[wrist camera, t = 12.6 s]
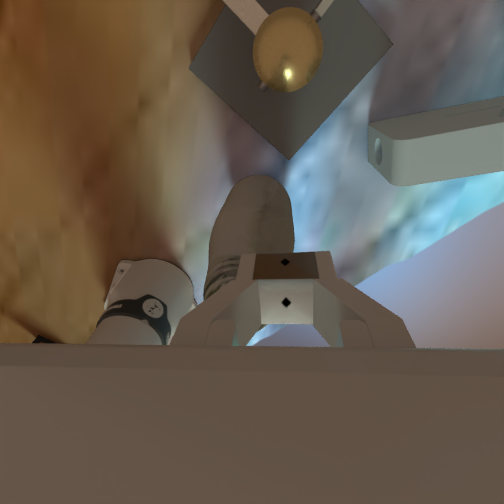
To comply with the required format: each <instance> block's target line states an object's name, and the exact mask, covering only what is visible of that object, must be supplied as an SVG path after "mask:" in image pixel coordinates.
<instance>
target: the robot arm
mask: <svg viewBox="0 0 504 504" xmlns="http://www.w3.org/2000/svg"><path fill="white" fill-rule="evenodd" d="M122 269H123V270H122ZM104 308H105V311H104V312H103V314H102V315H101V317H100V319H99V321H98V323H97V326H96V329H95V331H94V332H93V333H92V335H91V336H90V337H89V339H88V340H87V341H86V343H85V344H39V343H0V504H504V349H444V348H416V346H415V344H414V342H413V340H412V338H411V336H410V334H409V332H408V330H407V328H406V326H405V324H404V322H403V320H402V319H401V318H400V317H398V316H397V315H395V314H394V313H392V312H391V311H389V310H388V309H386V308H385V307H383V306H382V305H381V304H379V303H378V302H376V301H375V300H373V299H371V298H370V297H369V296H367V295H366V294H364V293H363V292H361V291H360V290H358V289H357V288H355V287H354V286H352V285H351V284H349V283H348V282H346V281H345V280H343V279H338V278H337V274H336V271H335V267H334V264H333V260H332V256H331V253H330V251H318V252H299V253H257V254H256V253H243V254H242V255H241V258H240V262H239V267H238V271H237V275H236V280H231V281H230V282H229V283H227V284H226V285H225V286H223V287H222V288H221V289H219V290H218V291H217V292H215V293H214V294H213V295H211V296H210V297H209V298H207V299H206V300H205V301H203V302H202V303H201V304H199V305H198V306H197V304H196V302H195V300H194V291H193V286H192V283H191V281H190V279H189V278H188V276H187V275H186V274H185V273H184V272H183V271H182V270H181V269H179V268H178V267H176V266H175V265H173V264H171V263H169V262H166V261H163V260H158V259H144V260H140V261H131V260H121V261H120V262H119V264H118V266H117V269H116V272H115V275H114V278H113V281H112V284H111V286H110V289H109V292H108V295H107V298H106V301H105V304H104ZM261 324H313V326H314V327H315V328H316V329H317V331H318V332H319V333H320V334H321V335H322V337H323V338H324V339H325V340H326V342H327V343H328V344H329V345H330V346H331V347H278V346H277V347H274V346H246V345H247V343H248V342H249V341H250V340H251V338H252V337H253V336H254V335H255V333H256V332H257V331H258V329H259V328H260V327H261V326H262V325H261ZM171 336H172V337H173V338H172V340H171V342H170V345H167V344H168V341H169V338H170V337H171Z"/></svg>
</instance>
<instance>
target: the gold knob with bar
mask: <svg viewBox="0 0 504 504" xmlns="http://www.w3.org/2000/svg"><path fill="white" fill-rule="evenodd" d="M222 1H223V2H224V3H225V4H226V5H227V6H228V7H229V9H230V10H231V11H232V12H233V13H234V14H235V15H236V16H237V17H238V18H239V19H240V20H241V21H242V22H243V23H244V24H245V25H246V27H247V28H248V29H249V30H250V31H251V32H252V33H253V34H254V35H255V39H254V44H253V62H254V66H255V69H256V72H257V74H258V76H259V77H260V79H261V80H260V81H259V83H258V84H257V86H258V87H259V88H260V89H261V90H262V91H263V92H264V93H265V92H266V90H267V89H268V88H269V87H270V88H271V89H273V90H275V91H279V92H292V91H296V90H298V89H300V88H302V87H303V86H305V85H306V84H307V83H308V82H309V81H310V80H311V79H312V78H313V77H314V75H315V74H316V72H317V70H318V68H319V66H320V63H321V60H322V55H323V39H322V34H321V31H320V28H319V26H318V23H319V21H320V20H321V17H320V16H319V14H318V13H317V12H316V11H315V10H314V9H313V10H312V11H311V12H310V14H309V13H307V12H306V11H304V10H302V9H299V8H296V7H285V8H281V9H279V10H276V11H275V12H273V13H271V14H270V15H268V14H267V13H266V11H265V10H264V9H263V8H262V7H261V6H260V5H259V4H258V3H257V1H256V0H222Z"/></svg>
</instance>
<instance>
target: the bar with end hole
mask: <svg viewBox="0 0 504 504" xmlns="http://www.w3.org/2000/svg"><path fill="white" fill-rule="evenodd" d="M368 162H369V163H370V164H371V165H372V166H373V167H374V168H375V169H376V170H377V171H378V172H379V173H380V174H381V175H382V176H383V177H384V178H385V179H386V180H387V181H388V182H389V183H390V184H392V185H396V186H411V185H417V184H423V183H430V182H436V181H442V180H449V179H455V178H461V177H468V176H474V175H480V174H487V173H493V172H499V171H504V96H501V97H496V98H491V99H486V100H481V101H476V102H471V103H466V104H461V105H456V106H451V107H446V108H441V109H436V110H431V111H426V112H421V113H416V114H411V115H406V116H401V117H396V118H391V119H386V120H381V121H376V122H372V123H369V124H368Z"/></svg>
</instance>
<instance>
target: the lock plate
mask: <svg viewBox="0 0 504 504" xmlns="http://www.w3.org/2000/svg"><path fill="white" fill-rule="evenodd" d="M256 1H257V3H258V4H259V5H260V6H261V7H262V8H263V9H264V10H265V11H266V13H267V14H268V15H270V14H271V13H273V12H275V11H276V10H279V9H281V8H285V7H296V8H299V9H302V10H304V11H306V12H307V13H309V14H310V12H311V11H312V10H313V9H314V10H315V11H316V12H317V13H318V14H319V16H320V17H321V20H320V21H319V23H318V26H319V28H320V31H321V34H322V39H323V55H322V60H321V63H320V66H319V68H318V70H317V72H316V74H315V75H314V77H313V78H312V79H311V80H310V81H309V82H308V83H307V84H306V85H305V86H303V87H302V88H300V89H298V90H296V91H292V92H279V91H275V90H273V89H271V88H270V87H269V88H268V89H267V90H266V92H265V93H264V92H263V91H262V90H261V89H260V88H259V87H258V86H257V84H258V83H259V81H260V80H261V79H260V77H259V76H258V74H257V72H256V69H255V66H254V62H253V44H254V39H255V35H254V34H253V33H252V32H251V31H250V30H249V29H248V28H247V27H246V25H245V24H244V23H243V22H242V21H241V20H240V19H239V18H238V17H237V16H236V15H235V14H234V13H233V12H232V11H231V10H230V9H229V7H228V6H227V5H225V7H224V8H223V10H222V12H221V14H220V15H219V17H218V19H217V20H216V22H215V24H214V26H213V27H212V29H211V31H210V33H209V34H208V36H207V38H206V39H205V41H204V43H203V45H202V46H201V48H200V50H199V51H198V53H197V55H196V57H195V58H194V60H193V62H192V63H191V65H190V67H189V69H190V70H191V71H192V72H193V73H194V74H195V75H196V76H197V77H198V78H199V79H201V80H202V81H203V82H204V83H205V84H206V85H207V86H208V87H209V88H210V89H211V90H213V91H214V92H215V93H216V94H217V95H218V96H219V97H220V98H221V99H222V100H223V101H225V102H226V103H227V104H228V105H229V106H230V107H231V108H232V109H233V110H234V111H236V112H237V113H238V114H239V115H240V116H241V117H242V118H243V119H244V120H245V121H246V122H248V123H249V124H250V125H251V126H252V127H253V128H254V129H255V130H256V131H257V132H259V133H260V134H261V135H262V136H263V137H264V138H265V139H266V140H267V141H268V142H269V143H271V144H272V145H273V146H274V147H275V148H276V149H277V150H278V151H279V152H280V153H282V154H283V155H284V156H285V157H286V158H287V159H288V160H290V159H291V158H292V157H293V155H294V154H295V153H296V152H297V151H298V150H299V149H300V148H301V147H302V145H303V144H304V143H305V142H306V141H307V140H308V139H309V138H310V137H311V135H312V134H313V133H314V132H315V131H316V130H317V129H318V128H319V127H320V125H321V124H322V123H323V122H324V121H325V120H326V119H327V118H328V117H329V115H330V114H331V113H332V112H333V111H334V110H335V109H336V108H337V107H338V105H339V104H340V103H341V102H342V101H343V100H344V99H345V98H346V97H347V95H348V94H349V93H350V92H351V91H352V90H353V89H354V88H355V87H356V85H357V84H358V83H359V82H360V81H361V80H362V79H363V78H364V77H365V75H366V74H367V73H368V72H369V71H370V70H371V69H372V68H373V67H374V65H375V64H376V63H377V62H378V61H379V60H380V59H381V58H382V57H383V55H384V54H385V53H386V52H387V51H388V50H389V49H390V48H391V47H392V45H393V43H392V42H391V41H390V40H389V38H388V37H387V36H386V35H385V33H384V32H383V31H382V30H381V28H380V27H379V26H378V25H377V24H376V22H375V21H374V20H373V19H372V17H371V16H370V15H369V14H368V12H367V11H366V10H365V9H364V7H363V6H362V5H361V4H360V2H359V1H358V0H256Z"/></svg>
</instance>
